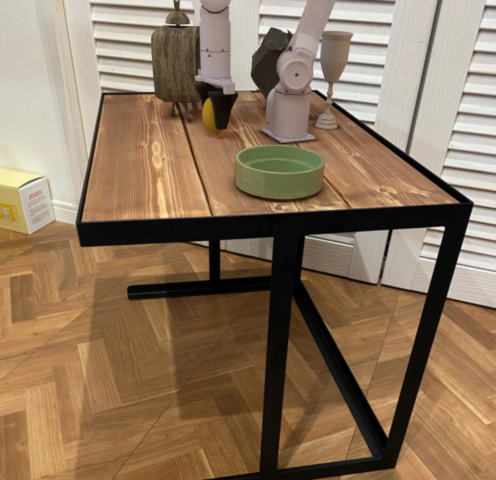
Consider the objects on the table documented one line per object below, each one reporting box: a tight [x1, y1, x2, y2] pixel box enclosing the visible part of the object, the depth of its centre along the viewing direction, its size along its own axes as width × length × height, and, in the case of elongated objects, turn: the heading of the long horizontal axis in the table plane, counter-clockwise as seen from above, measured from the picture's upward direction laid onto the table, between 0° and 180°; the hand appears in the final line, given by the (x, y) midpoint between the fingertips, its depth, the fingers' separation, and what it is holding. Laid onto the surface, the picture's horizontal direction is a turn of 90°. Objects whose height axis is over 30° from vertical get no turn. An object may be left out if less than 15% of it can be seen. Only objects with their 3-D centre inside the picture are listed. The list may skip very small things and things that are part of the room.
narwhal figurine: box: [250, 26, 316, 120], centre depth 118 cm, size 14×15×18 cm
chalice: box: [314, 30, 355, 130], centre depth 108 cm, size 7×7×18 cm
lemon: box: [201, 97, 231, 136], centre depth 103 cm, size 6×6×8 cm
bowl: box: [234, 144, 326, 200], centre depth 82 cm, size 14×14×4 cm
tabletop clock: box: [150, 0, 202, 123], centre depth 109 cm, size 14×9×25 cm, turn 179°
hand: (216, 125), depth 104 cm, fingers closed on lemon, 5 cm apart
